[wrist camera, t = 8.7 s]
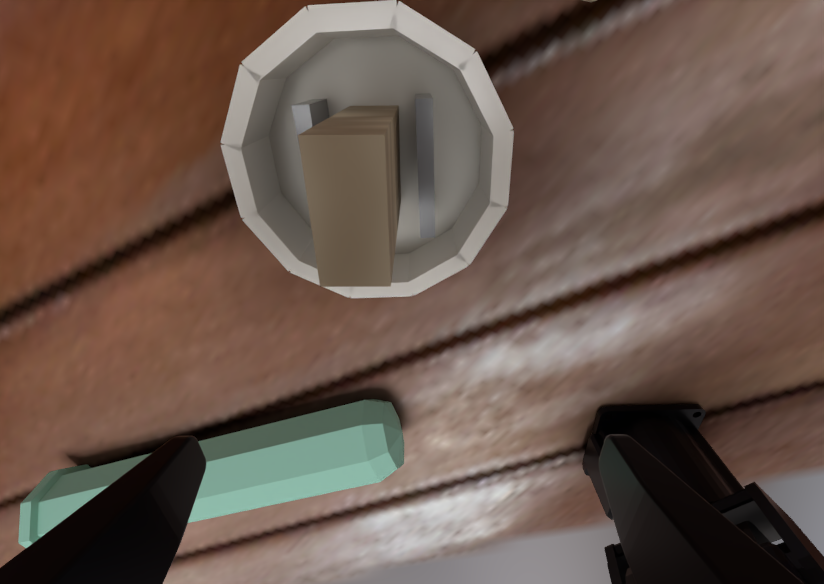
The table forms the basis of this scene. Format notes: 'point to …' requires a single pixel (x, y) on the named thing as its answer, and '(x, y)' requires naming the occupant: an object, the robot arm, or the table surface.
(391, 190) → the beige long wooden block
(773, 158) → the table surface
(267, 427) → the mint green faceted bar
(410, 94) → the white round dish
